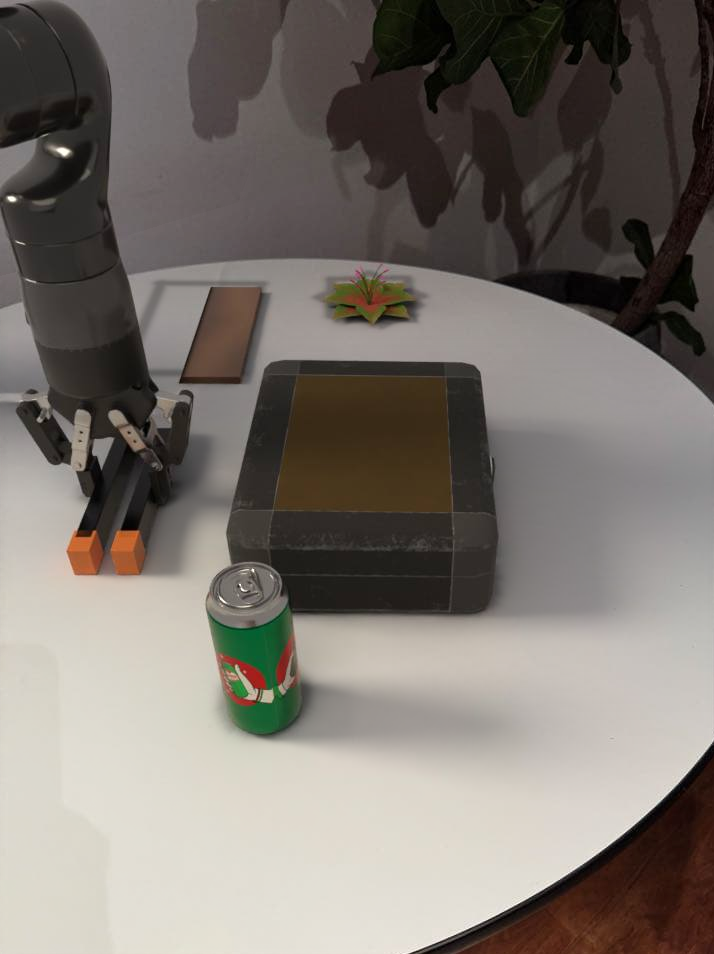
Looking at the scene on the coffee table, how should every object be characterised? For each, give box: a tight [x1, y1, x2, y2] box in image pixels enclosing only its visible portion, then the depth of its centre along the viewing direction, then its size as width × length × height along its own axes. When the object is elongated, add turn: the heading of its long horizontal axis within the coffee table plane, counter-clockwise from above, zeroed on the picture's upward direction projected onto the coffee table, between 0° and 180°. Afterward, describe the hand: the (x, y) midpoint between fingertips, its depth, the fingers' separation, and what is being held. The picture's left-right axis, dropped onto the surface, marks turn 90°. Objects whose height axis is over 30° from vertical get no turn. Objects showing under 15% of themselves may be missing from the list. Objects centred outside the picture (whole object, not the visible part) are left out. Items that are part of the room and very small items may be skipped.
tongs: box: [66, 413, 172, 575], centre depth 75 cm, size 19×5×3 cm, turn 1°
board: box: [178, 286, 263, 384], centre depth 97 cm, size 12×20×1 cm, turn 1°
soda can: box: [205, 562, 303, 735], centre depth 56 cm, size 5×5×12 cm
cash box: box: [225, 359, 499, 614], centre depth 73 cm, size 25×20×8 cm
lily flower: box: [320, 263, 419, 326], centre depth 101 cm, size 12×12×5 cm
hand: (130, 496), depth 76 cm, fingers closed on tongs, 4 cm apart
